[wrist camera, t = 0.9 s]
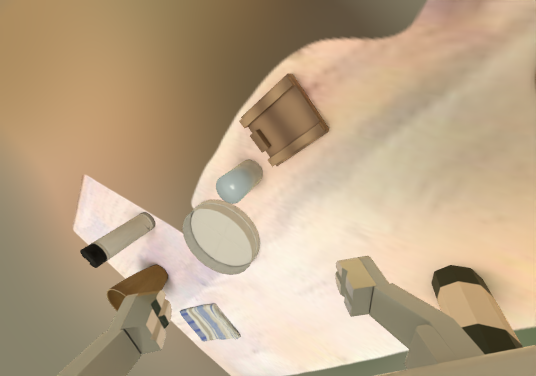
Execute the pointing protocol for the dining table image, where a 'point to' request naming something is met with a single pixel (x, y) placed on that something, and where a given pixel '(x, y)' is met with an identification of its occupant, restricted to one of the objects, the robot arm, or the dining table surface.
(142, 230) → the travel mug
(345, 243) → the dining table surface
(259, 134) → the chest
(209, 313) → the dish towel
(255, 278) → the dining table surface
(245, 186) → the grey domed cylinder
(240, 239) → the dish
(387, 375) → the robot arm
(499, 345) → the wine bottle
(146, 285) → the plant pot
